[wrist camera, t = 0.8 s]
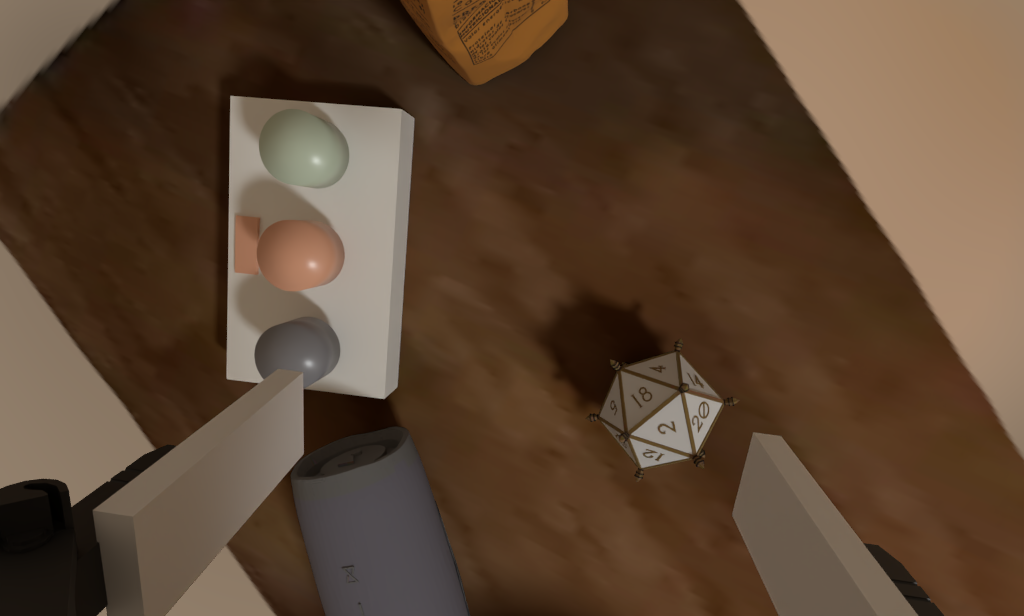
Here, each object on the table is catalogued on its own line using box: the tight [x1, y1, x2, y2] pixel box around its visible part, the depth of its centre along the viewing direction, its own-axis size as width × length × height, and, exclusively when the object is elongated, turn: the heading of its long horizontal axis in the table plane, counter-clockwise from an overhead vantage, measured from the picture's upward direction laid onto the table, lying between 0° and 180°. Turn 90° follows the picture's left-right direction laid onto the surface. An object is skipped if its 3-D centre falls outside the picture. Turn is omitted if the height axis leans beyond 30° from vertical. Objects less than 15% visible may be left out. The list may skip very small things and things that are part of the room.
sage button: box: [259, 109, 349, 189], centre depth 34 cm, size 4×4×3 cm
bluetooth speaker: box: [291, 427, 470, 616], centre depth 39 cm, size 23×9×10 cm, turn 15°
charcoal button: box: [254, 317, 340, 389], centre depth 36 cm, size 4×4×3 cm
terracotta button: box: [257, 220, 345, 291], centre depth 35 cm, size 4×4×3 cm
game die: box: [586, 338, 739, 482], centre depth 36 cm, size 9×8×10 cm
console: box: [227, 96, 415, 399], centre depth 39 cm, size 20×12×3 cm, turn 175°
